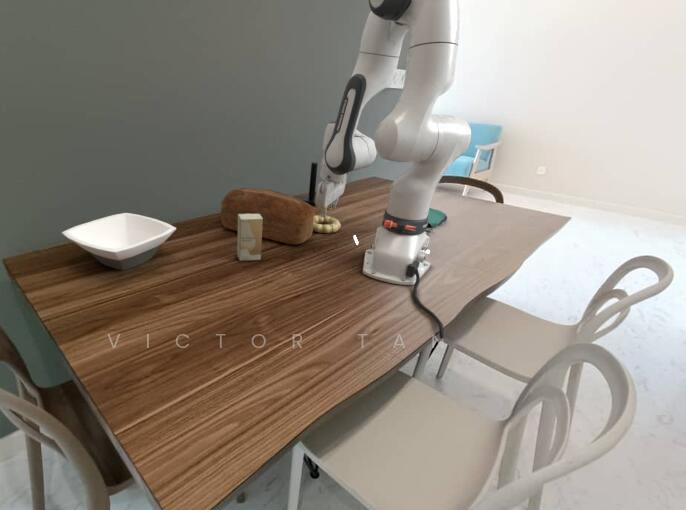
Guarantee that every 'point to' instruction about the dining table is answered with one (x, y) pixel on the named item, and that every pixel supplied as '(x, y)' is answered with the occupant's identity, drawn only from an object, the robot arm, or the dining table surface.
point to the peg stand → (311, 186)
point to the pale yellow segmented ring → (331, 227)
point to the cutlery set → (435, 218)
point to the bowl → (121, 239)
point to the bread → (270, 214)
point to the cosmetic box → (249, 236)
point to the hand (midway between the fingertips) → (328, 213)
